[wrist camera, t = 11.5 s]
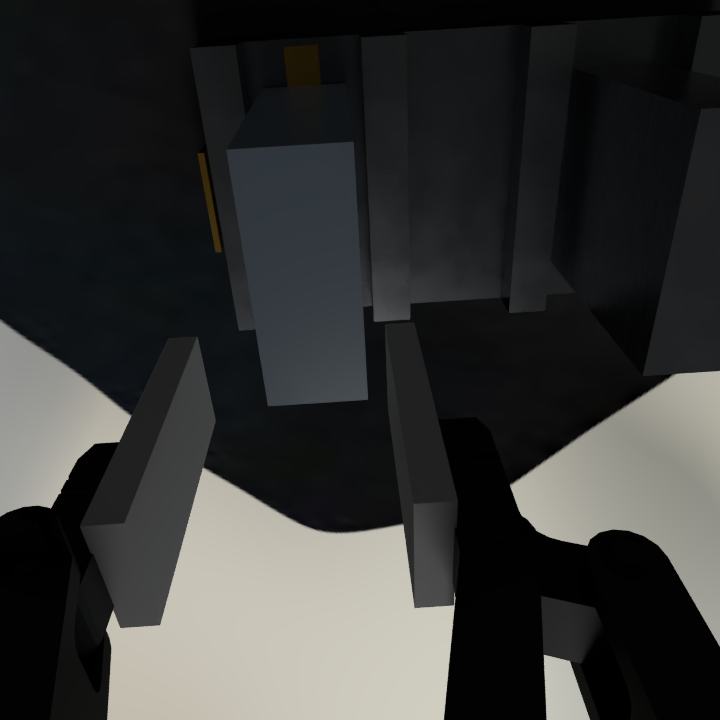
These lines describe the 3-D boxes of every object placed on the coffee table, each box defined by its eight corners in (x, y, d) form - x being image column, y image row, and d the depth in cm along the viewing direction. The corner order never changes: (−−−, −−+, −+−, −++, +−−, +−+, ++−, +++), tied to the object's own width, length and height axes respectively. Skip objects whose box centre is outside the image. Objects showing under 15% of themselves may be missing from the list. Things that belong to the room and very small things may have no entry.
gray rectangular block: (262, 88, 29) (226, 149, 19) (345, 83, 29) (353, 141, 19) (286, 279, 35) (268, 406, 25) (356, 274, 35) (367, 399, 25)
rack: (192, 43, 30) (104, 76, 18) (711, 10, 30) (949, 23, 18) (237, 303, 37) (194, 445, 25) (655, 276, 37) (801, 405, 26)
